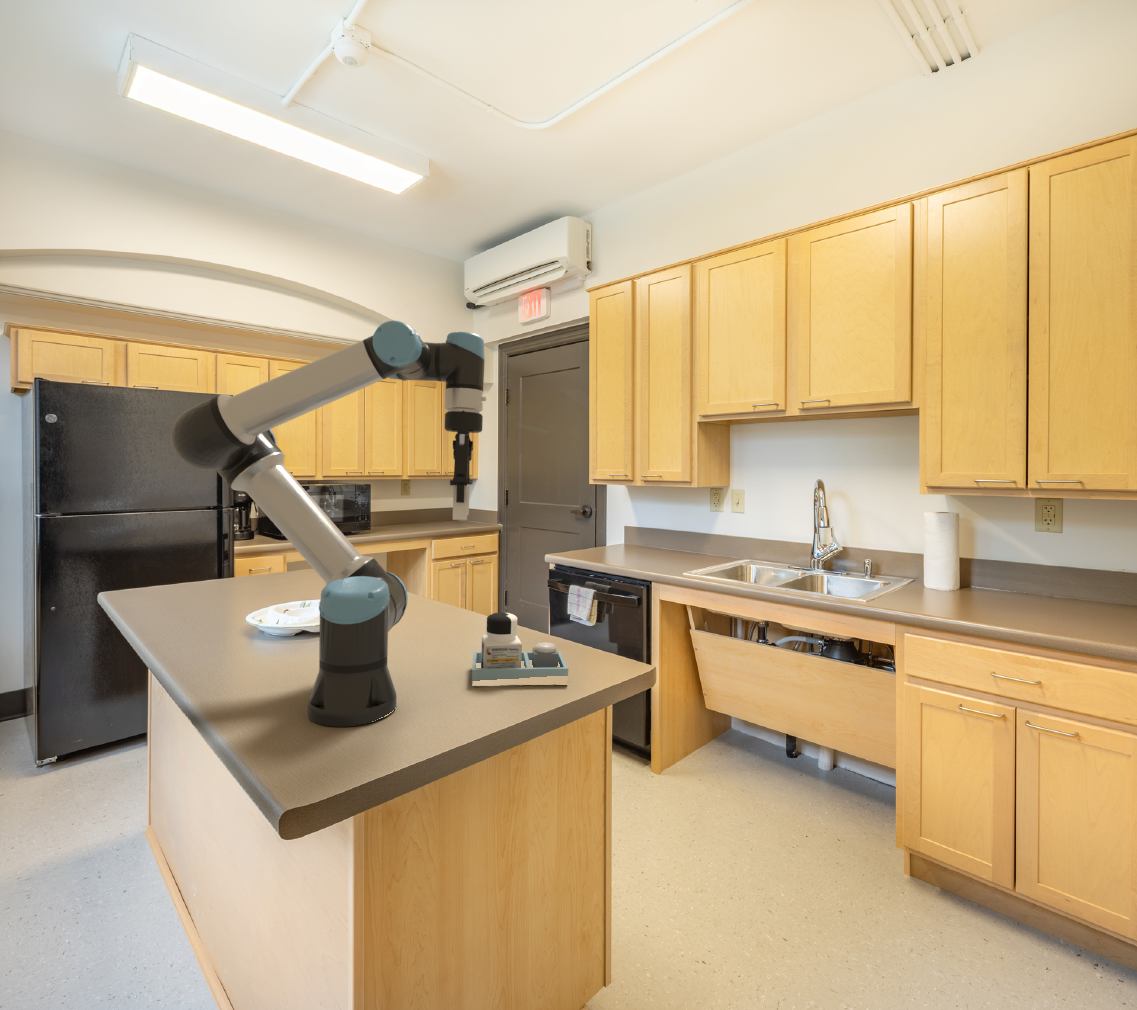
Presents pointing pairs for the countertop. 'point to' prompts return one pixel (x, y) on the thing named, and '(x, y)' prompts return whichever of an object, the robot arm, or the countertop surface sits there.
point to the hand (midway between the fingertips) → (461, 517)
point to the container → (501, 642)
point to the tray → (542, 662)
